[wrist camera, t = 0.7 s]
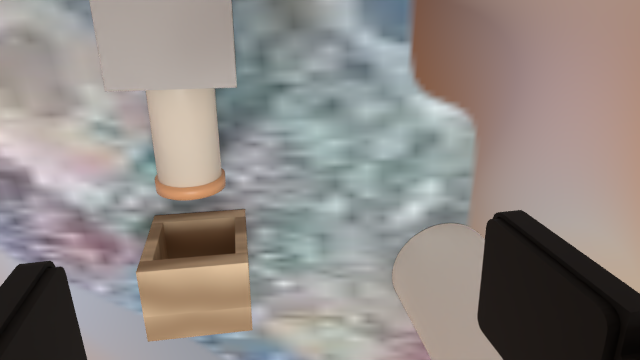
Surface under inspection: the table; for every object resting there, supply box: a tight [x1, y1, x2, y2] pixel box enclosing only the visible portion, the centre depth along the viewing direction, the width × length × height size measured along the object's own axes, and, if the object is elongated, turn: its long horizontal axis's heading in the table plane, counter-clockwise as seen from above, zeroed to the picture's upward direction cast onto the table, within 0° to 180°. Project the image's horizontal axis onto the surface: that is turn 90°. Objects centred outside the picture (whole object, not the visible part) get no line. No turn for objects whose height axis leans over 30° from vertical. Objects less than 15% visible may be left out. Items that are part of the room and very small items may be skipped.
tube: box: [146, 88, 226, 200], centre depth 30 cm, size 15×5×5 cm, turn 0°
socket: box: [136, 209, 252, 341], centre depth 36 cm, size 6×7×8 cm
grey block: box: [89, 0, 237, 92], centre depth 29 cm, size 8×7×8 cm
